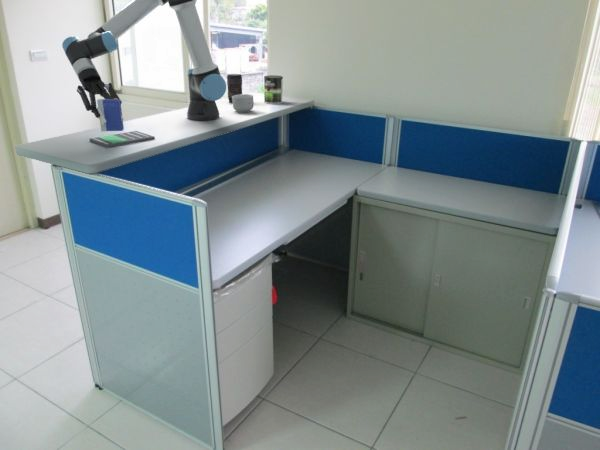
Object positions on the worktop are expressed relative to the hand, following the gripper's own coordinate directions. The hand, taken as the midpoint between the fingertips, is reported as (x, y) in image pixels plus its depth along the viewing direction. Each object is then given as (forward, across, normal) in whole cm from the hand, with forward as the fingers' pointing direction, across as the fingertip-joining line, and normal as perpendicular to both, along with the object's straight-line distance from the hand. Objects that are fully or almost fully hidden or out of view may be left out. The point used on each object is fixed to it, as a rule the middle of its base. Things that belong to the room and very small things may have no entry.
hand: (113, 122), depth 191 cm
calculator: (+4, -4, -7) cm, 9 cm away
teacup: (-7, -79, -18) cm, 81 cm away
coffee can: (-12, -108, -23) cm, 111 cm away
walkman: (+1, -1, -4) cm, 5 cm away
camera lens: (-22, -92, -33) cm, 101 cm away
